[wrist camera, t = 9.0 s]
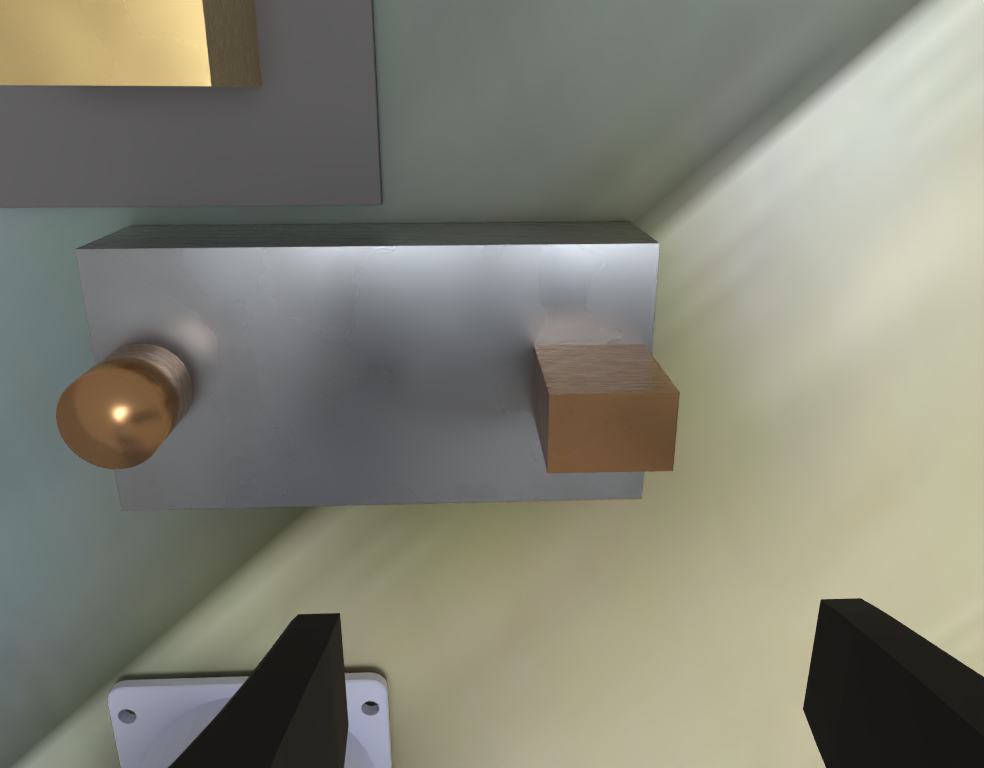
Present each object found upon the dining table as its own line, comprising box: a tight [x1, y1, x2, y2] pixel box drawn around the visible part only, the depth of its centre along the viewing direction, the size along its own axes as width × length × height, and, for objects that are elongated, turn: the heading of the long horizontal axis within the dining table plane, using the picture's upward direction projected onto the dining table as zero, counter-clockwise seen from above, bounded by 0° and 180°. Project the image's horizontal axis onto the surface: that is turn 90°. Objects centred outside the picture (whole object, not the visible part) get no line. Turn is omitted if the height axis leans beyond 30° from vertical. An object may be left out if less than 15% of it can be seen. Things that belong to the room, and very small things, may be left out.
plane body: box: [56, 222, 679, 511], centre depth 18 cm, size 6×12×6 cm, turn 90°
